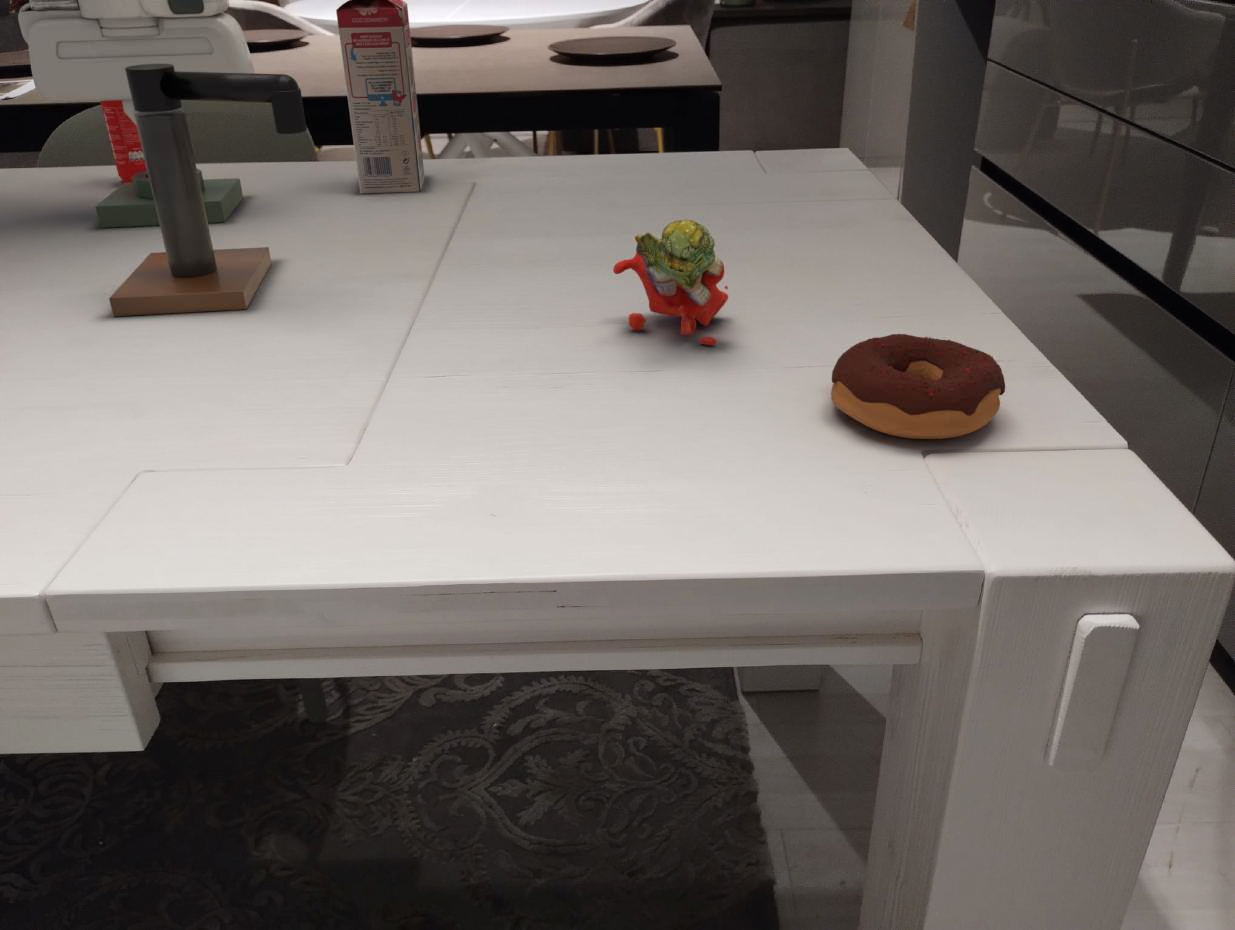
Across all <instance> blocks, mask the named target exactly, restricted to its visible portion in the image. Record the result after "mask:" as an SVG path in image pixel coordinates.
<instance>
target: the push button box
mask: <svg viewBox="0 0 1235 930" xmlns="http://www.w3.org/2000/svg"><path fill="white" fill-rule="evenodd" d="M197 173H198V178H199V183H200V188H201V192H202V197H203V202H204V207H205V212H206V217H207V221H208V224H217V223H219V224H220V223H226V221H227V220H228V219H229V217H230V216H231V215H232V213H234V211H235V210H236V208H237V207H238V206H239V204H240V203H241V201H243V199H244V194H243V189H242V184H241V178H239V177H235V178H234V177H233V178H209V179H207V178H206V179H204V178H203V172H202V170H201V169H199V168H197ZM132 181H133V183H124V182H123V183H122V184H121V185H120V186H119V187H118V188H117V189H115V190H114V191H112V193H110V194H109V195H107V196H106V197H105V198H104V199H102V200H101V201H100V202H99V203H97V204H96V205H95V206H94V207H95V211H96V216H97V219H98V222H99V223H98V224H99V227H100V228H101V229H108V228H109V229H110V228H111V229H112V228H128V227H130V228H131V227H151V226H152V227H153V226H160V225H159V220H158V216H157V212H156V207H155V203H154V199H153V194H152V190H151V186H150V181H149V178H148V174H147V170H146V171H143V172H139V173H136V174H135V175H134V176H133V177H132Z"/></svg>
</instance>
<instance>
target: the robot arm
mask: <svg viewBox="0 0 1235 930" xmlns="http://www.w3.org/2000/svg"><path fill="white" fill-rule="evenodd" d="M28 1H29V2H27V3H25V4H24V5H22V6H21V7H20V9H19V11H18V15H17V18H18V19H17V21H18V24H19V28H20V31H21V32H20V33H21V35H22V38H23V40H24V41H25V43H26V44H27V45H28V53H29V62H30V69H31V74H32V75H31V76H32V79H33V83H34V88H35V91H36V93H37V94H38V95H39V97H41V98H42V99H43V100H44V101H45V102H47V103H49V104H52V103H53V104H54V103H55V104H56V103H59V104H60V103H81V102H82V103H83V102H84V103H85V102H100V101H111V100H122V103H123V108H124V112H125V113H126V114H127V115H128V117H129V118H130V119H131V120H132V121H133V122H134V123H135V125H136V121H135V117H134V114H135V113H138V111H135V110H134V106H133V102H132V97H131V93H130V89H129V84H128V80H127V76H126V71H125V68H126V67H129V66H134V65H142V64H172V65H173V66H174V70H175V71H182V72H218V73H255V69H254V63H253V60H252V59H253V58H252V56H251V52H250V49H249V46H248V43H247V39H246V36H245V34H244V31H243V29H242V27H241V25H240V23H239V22H238V21H237V19H235V17H233V16H232V15H230V14H229V13H226V12H225V11H227V9H229V8H230V7H229V6H230V0H28ZM28 9H31V10H28ZM255 74H256V73H255ZM181 103H182V104H183V100H181ZM183 106H184V105H182V107H181V108H179V109H181V110H183ZM136 126H137V125H136Z"/></svg>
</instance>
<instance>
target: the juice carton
mask: <svg viewBox="0 0 1235 930" xmlns="http://www.w3.org/2000/svg"><path fill="white" fill-rule="evenodd" d="M408 8H409V7H408V3H407V2H406V1H404V0H347V1H346V2H344V3H342V4H341V5H340V6H339V7H338V8H336V10H335V12H336V13H335V14H336V19H337V27H338V35H339V42H340V50H341V58H342V64H343V73H344V80H345V89H346V96H347V103H348V110H349V111H348V112H349V118H350V125H351V126H350V127H351V134H352V142H353V148H354V155H355V156H354V157H355V164H356V171H357V179H358V185H359V186H358V187H359V194H383V193H385V194H388V193H409V192H410V193H411V192H413V193H415V192H422V188H423V185H424V181H425V179H426V177H425V176H426V175H425V169H424V158H423V145H422V138H421V129H420V128H421V127H420V118H419V107H418V106H419V105H418V99H417V98H418V97H417V88H416V79H415V78H416V77H415V68H414V59H413V58H414V57H413V48H412V38H411V30H410V29H411V28H410V17H409V9H408Z"/></svg>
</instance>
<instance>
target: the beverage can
mask: <svg viewBox="0 0 1235 930" xmlns="http://www.w3.org/2000/svg"><path fill="white" fill-rule="evenodd" d="M99 102H100V106H101V110H102V114H103V118H104V123H105V126H106V127H105V128H106V131H107V134H108V140H109V143H110V146H111V151H112V155H113V159H114V163H115V168H116V172H117V175H118V177H119V178H120V179H121V180H122V182H123V184H124V183H133V181H132V177H133V176H134V175H135V174H136V173H139V172H143V171H146V170H147V169H146V165H145V160H144V155H143V151H142V147H141V142H140V138H139V134H138V129H137V126H136V125H135V123H134V122H133V121H132V120H131V119H130V118H129V117H128V115H127V114H126V113H125V112H124V108H123V103H122V100H111V101H99Z"/></svg>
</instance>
